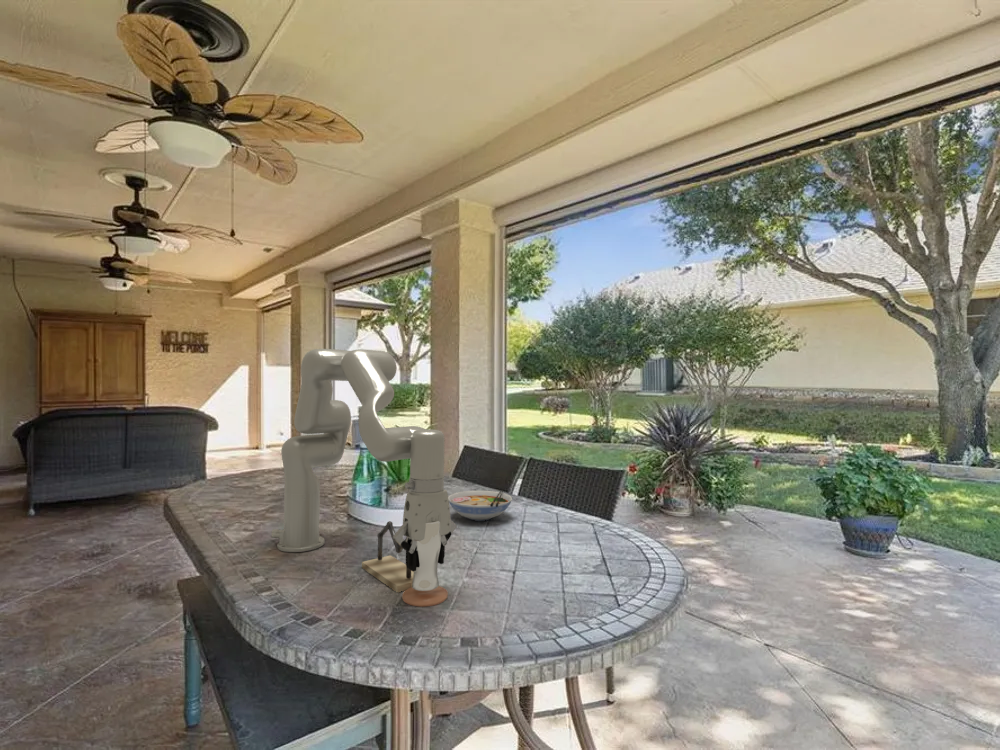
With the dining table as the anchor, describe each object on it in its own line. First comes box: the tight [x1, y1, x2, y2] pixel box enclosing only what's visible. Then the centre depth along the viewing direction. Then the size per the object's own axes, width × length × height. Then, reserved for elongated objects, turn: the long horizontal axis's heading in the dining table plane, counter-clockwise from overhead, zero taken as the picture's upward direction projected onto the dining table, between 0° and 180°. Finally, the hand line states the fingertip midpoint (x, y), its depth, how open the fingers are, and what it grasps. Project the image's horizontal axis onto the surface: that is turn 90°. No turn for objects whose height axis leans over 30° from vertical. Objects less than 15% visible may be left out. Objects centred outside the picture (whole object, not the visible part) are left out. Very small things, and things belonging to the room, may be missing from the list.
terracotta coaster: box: [401, 585, 449, 608], centre depth 111 cm, size 10×10×1 cm
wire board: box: [361, 555, 413, 593], centre depth 123 cm, size 19×8×2 cm, turn 40°
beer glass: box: [411, 520, 442, 592], centre depth 111 cm, size 7×7×15 cm
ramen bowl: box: [448, 489, 513, 522], centre depth 175 cm, size 25×23×8 cm
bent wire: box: [376, 521, 411, 578], centre depth 123 cm, size 16×2×11 cm, turn 40°
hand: (425, 565), depth 111 cm, fingers closed on beer glass, 6 cm apart
